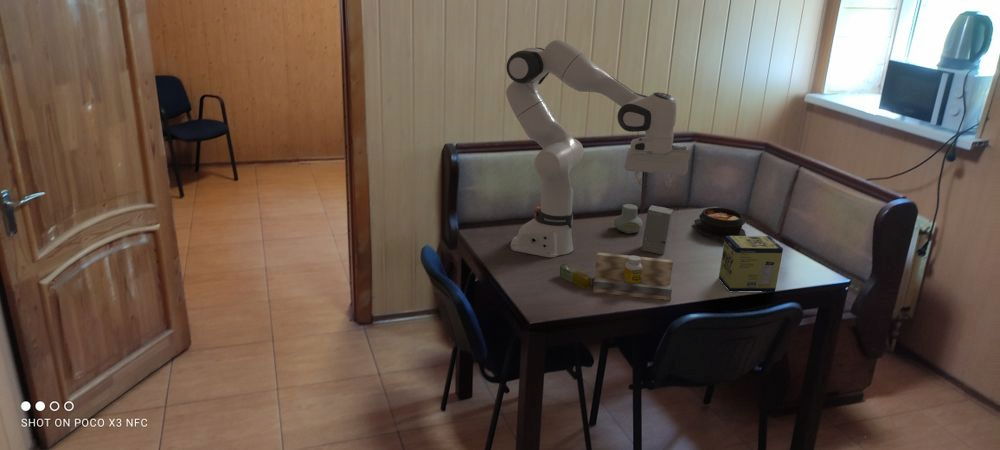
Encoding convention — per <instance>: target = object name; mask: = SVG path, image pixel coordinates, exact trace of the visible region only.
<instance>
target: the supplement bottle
mask: <svg viewBox="0 0 1000 450" xmlns="http://www.w3.org/2000/svg"><path fill="white" fill-rule="evenodd" d="M628 256H629V257H628V262H627V263H626V264H625V272H624V283H633V284H640V282H641V273H642V265H641V264H640V262H641V258H640V257H641V256H638V255H628Z"/></svg>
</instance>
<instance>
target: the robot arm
mask: <svg viewBox="0 0 1000 450" xmlns="http://www.w3.org/2000/svg"><path fill="white" fill-rule="evenodd" d="M505 68H506V73H507V75H508V77H509V78H510V79H511V80H512V82H511V83H510V84H509V85H508V86H507V88H506V91H505V94H506V98H507V102H508V104H509V106H510V108H511V110H512V112H513V114H514V115H515V118H516V120H517V121H518V122H519V124H520V126H521V128H522V129H523V131H524V133H525V134H526V135H527V137H528V138H529V139H531V140H532V141H534V142H535V143H537V144H538V146H540V148H542V149H541V150H540V151H539V152H538V153H537V155H536V156H535V158H534V169H535V171H536V173H537V174H538V176H539V180H540V186H541V195H540V206H538V205H537V206H535V208H534V214H533V215H534V216H533V218H532V219H531V220H529V221H528V222H526V223H524V224H522V226H521V227H520V229H519V230H518V233H517V235H516V236H514V237H513V238H512V240H511V242H510V249H511V250H512V251H514V252H519V253H524V254H528V255H529V254H530V255H534V256H535V255H536V256H540V257H545V258H556V257H558V256H564V255H568V254H570V253H572V252H573V251H574V245H573V238H572V227H573V222H574V221H573V220H574V212H573V201H574V189H573V188H572V186H571V180H570V172H571V170H573V169H574V168H576V167H577V166H578V165H579V164H580V162H581V161H582V159H583V157H584V155H585V154H584V153H585V152H584V151H585V149H584V147H583V144H582V143H581V141H579V140H578V139H576V138H574V137H573V136H572V135H570V133H568V131H566V130H565V128H564V127H563V126H562V125H561V124H560V123H559V121H558V120H557V118H555V116H554V114H553V112H552V111H551V110H550V108H549V106H548V105H547V103H546V102H545V100H544V99H543V97H542V95H541V94H540V91H539V88H538V87H539V85H541V84H542V83H543V82H544V81H545V79H546V78H547V77H548V76H549V74H552V75H553V76H555V77H556V78H558V80H560V81H561V82H562V83H564V84H565V85H566V86H568V87H570V88H571V89H573V90H575V91H577V92H582V93H598V94H600V95H603V96H605V97H607V98H608V99H610V100H611V101H612V102H614V103H615V104H617V105H618V106H619V107H620V108H619V110H618V112H617V115H616V116H617V121H618V123H617V124H619V127H620V128H621V129H623V130H624V131H626V132H630V133H631V132H632V133H633V132H636V133H637V132H645V136H642V137H637V138H633V139H632V140H631V141H630V147H629V148H628V150H627V152H626V155H625V159H624V166H623V168H624V169H625V170H626V171H627V172H628V171H629V172H634V176H635V178H636V185H638V186H639V185H640V186H641V185H642V182H643V181H642V180H643V179H642V177H640V176H639V175H640V172H641V173H651V174H652V173H653V174H662V175H663V174H665V175H670V177H671V178H670V179H669V180H666V183H665V187H666V188H671V187H672V183H673V181H675V179H676V176H678V175H679V176H686V175H687V174H688V169H689V160H690V159H691V154H692V152H691V149H690V148H688V147H687V146H684V145H683V146H680V145H674V136H675V135H674V127H675V126H676V120H677V100H676V99H675V98H674V96H672V95H670V94H668V93H663V92H653V93H652V94H650V95H649V96H648V95H645V94H644V95H643V94H639V93H638V92H635V91H633V90H632V89H630V88H629V87H627V86H626V85H625V84H623V83H622V82H620V81H619V80H617V79H616V78H614V77H613V76H611V75H610V74H608V72H606V71H605V70H603V69H602V68H601V67H600V66H599V65H597V64H596V63H595V62H594V61H593V60H592V59H590V58H589V57H588V56H586V55H585V54H584V53H583V52H581V51H580V50H579V49H577V48H575V47H574V46H572V45H570V44H569V43H567V42H564V41H563V40H561V39H555V40H552V41H550V42H549V43H548V44H547V45H546V46H545V47H544V48H542V47H528V48H524V49H522V50H517V51H515V53H514V52H513V54H511V55H510V57H509V58H508V60H507V61H506V67H505Z"/></svg>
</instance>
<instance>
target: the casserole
mask: <svg viewBox="0 0 1000 450" xmlns="http://www.w3.org/2000/svg"><path fill="white" fill-rule="evenodd" d="M698 217H699V218H697V219H695V220H693V221H694V223H695V229H696V231H698V232H699V233H700V234H703V235H705V236H707V237H710V238H714V239H716V240H718V241H720V242H721V241H722V242H724V241H725V236H747V234H746V231H745V229H743V226H744V225H745V224H746V221H745V219H744V216H743V214H742V213H740V212H739V211H736V210H734V209H730V208H725V207H724V208H723V207H709V208H705V209H703V210H702V212H701V213H700V214H699V215H698Z"/></svg>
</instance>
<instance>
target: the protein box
mask: <svg viewBox="0 0 1000 450" xmlns="http://www.w3.org/2000/svg"><path fill="white" fill-rule="evenodd" d="M783 250H784V248H783V247H782V246H781V245H780V244H779V243H778V242H776V241H775V239H774V238H772V237H771V236H769V235H746V236H725V241H723V249H722V253H721V254H722V255H721V256H722V257H721V262H720V267H719V272H718V273H719V274H718V279H719V281H720V280H721V281H722V282H723V283H722V282H721V281H720V282H721V283H722V285H723V286H724V285H725V286H726V287H727V288H728V289H727V288H726V287H725V286H724V287H725V288H726V289H727V291H728V290H729V291H762V292H761V293H776V289H777V283H778V277H779V273H780V266H781V262H782V255H783ZM729 291H728V292H729Z"/></svg>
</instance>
